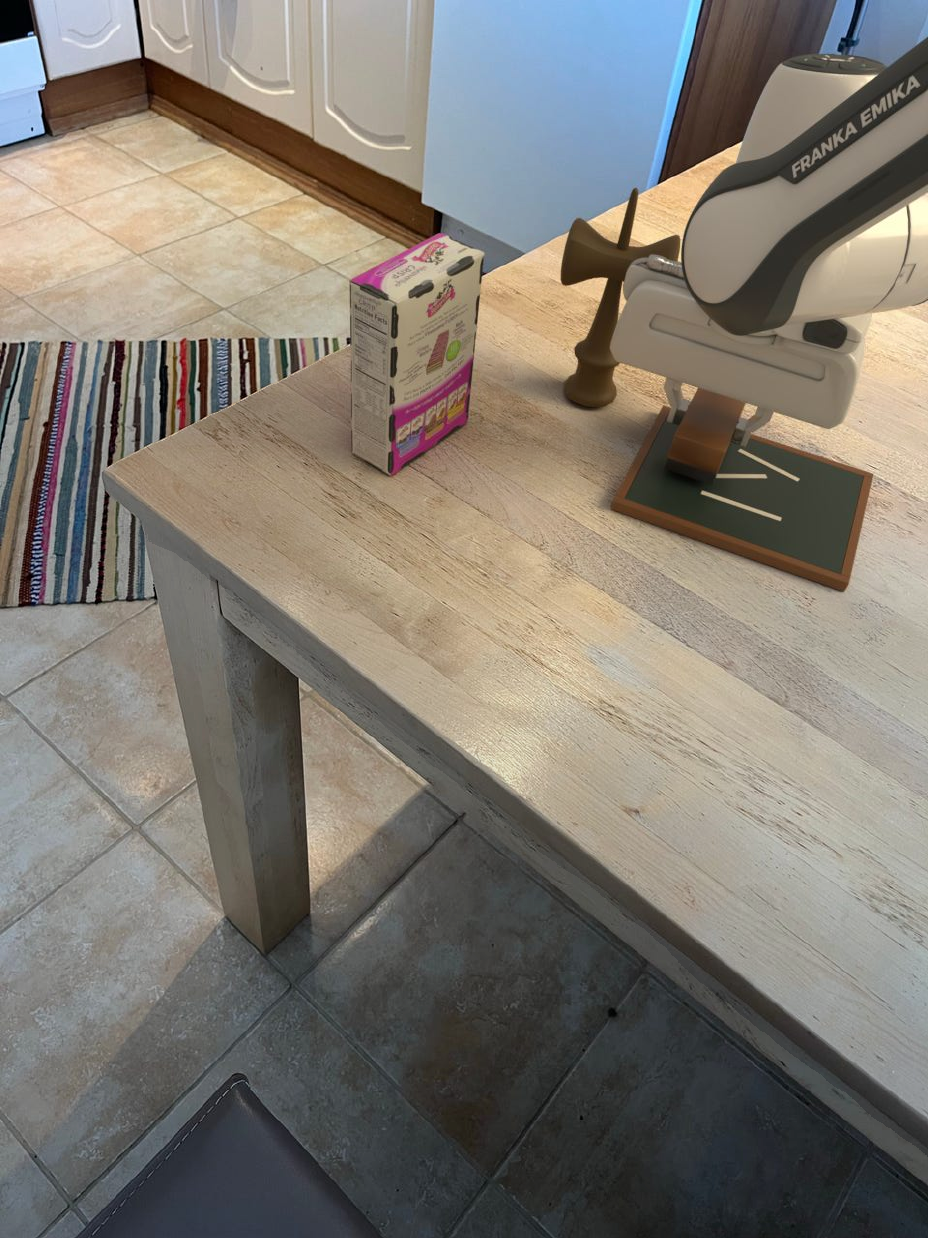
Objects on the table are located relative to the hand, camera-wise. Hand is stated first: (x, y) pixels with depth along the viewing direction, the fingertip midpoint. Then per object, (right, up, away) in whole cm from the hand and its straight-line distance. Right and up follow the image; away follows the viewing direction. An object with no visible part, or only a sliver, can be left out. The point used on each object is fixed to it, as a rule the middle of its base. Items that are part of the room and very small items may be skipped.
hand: (707, 431), depth 84 cm
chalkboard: (+3, -6, 0) cm, 7 cm away
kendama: (-9, +5, +8) cm, 13 cm away
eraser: (0, -1, +1) cm, 2 cm away
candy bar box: (-26, -1, +1) cm, 26 cm away
